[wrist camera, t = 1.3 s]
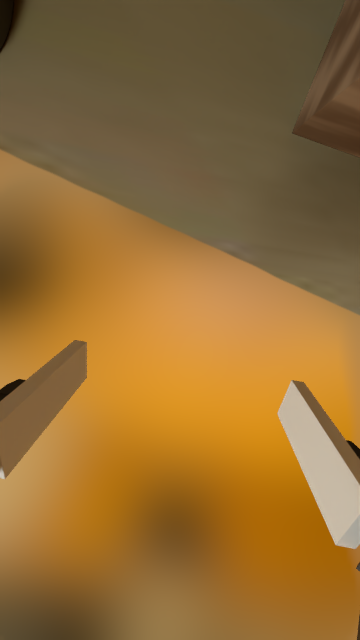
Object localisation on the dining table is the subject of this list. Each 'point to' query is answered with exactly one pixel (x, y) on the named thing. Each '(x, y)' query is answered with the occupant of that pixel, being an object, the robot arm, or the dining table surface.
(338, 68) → the two-tone wood block
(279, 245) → the dining table surface
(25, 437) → the robot arm
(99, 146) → the dining table surface
